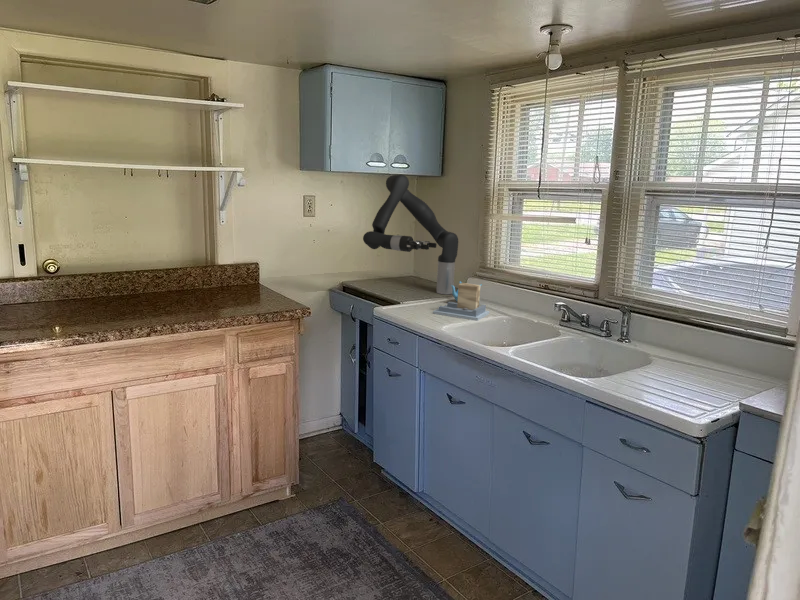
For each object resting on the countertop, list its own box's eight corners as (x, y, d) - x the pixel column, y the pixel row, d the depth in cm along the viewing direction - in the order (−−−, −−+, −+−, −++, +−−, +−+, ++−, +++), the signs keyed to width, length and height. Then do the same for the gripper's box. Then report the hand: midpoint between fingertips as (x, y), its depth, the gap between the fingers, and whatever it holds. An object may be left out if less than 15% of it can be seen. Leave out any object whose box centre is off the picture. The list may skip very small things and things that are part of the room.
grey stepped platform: (446, 307, 288) (446, 298, 287) (489, 313, 278) (489, 305, 277) (432, 313, 274) (433, 304, 273) (477, 320, 264) (478, 311, 264)
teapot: (458, 299, 306) (459, 280, 304) (482, 303, 300) (484, 283, 298) (448, 304, 295) (449, 284, 293) (473, 307, 289) (474, 287, 287)
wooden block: (460, 309, 279) (462, 282, 276) (478, 312, 275) (480, 285, 272) (456, 311, 275) (458, 284, 272) (475, 314, 271) (477, 286, 268)
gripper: (395, 236, 278) (426, 239, 271) (408, 234, 291) (439, 237, 283) (394, 252, 280) (425, 256, 273) (408, 249, 292) (438, 252, 285)
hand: (432, 246), depth 278 cm, fingers open, 8 cm apart
